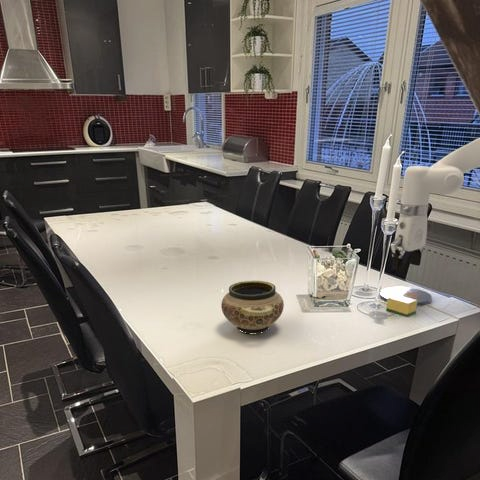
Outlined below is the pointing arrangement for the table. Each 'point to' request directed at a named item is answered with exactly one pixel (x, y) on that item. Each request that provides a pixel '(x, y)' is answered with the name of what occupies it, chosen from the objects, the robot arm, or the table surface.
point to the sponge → (401, 305)
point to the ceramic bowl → (252, 305)
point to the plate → (407, 294)
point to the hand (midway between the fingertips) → (405, 267)
